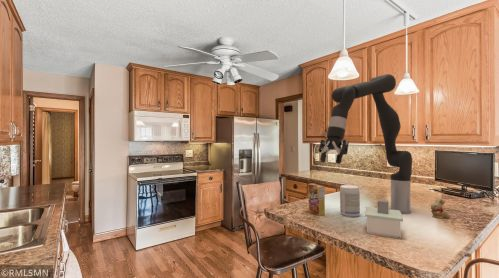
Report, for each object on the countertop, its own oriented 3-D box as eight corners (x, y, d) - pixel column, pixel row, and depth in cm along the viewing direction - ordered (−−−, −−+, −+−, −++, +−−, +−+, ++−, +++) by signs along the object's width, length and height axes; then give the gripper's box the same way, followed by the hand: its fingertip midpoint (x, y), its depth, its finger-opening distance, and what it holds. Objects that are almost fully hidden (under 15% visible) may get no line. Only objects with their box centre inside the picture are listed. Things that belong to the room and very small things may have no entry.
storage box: (367, 224, 113) (367, 209, 113) (398, 228, 108) (398, 212, 108) (366, 233, 103) (366, 216, 103) (400, 238, 97) (400, 220, 97)
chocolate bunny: (430, 214, 129) (430, 195, 129) (449, 217, 125) (449, 197, 125) (431, 217, 124) (431, 197, 124) (451, 220, 120) (451, 199, 120)
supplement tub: (363, 215, 128) (363, 187, 128) (352, 218, 122) (352, 188, 122) (347, 210, 136) (347, 184, 136) (336, 213, 130) (336, 186, 131)
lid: (366, 210, 114) (366, 195, 114) (400, 214, 108) (400, 199, 108) (364, 218, 102) (364, 202, 102) (402, 223, 96) (402, 206, 96)
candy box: (307, 211, 134) (307, 183, 135) (314, 210, 136) (314, 183, 136) (318, 216, 126) (318, 186, 126) (325, 215, 128) (325, 185, 128)
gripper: (355, 130, 108) (348, 166, 106) (329, 131, 120) (323, 163, 118) (344, 124, 104) (337, 162, 102) (319, 126, 117) (312, 159, 114)
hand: (330, 162), depth 110 cm, fingers open, 8 cm apart
